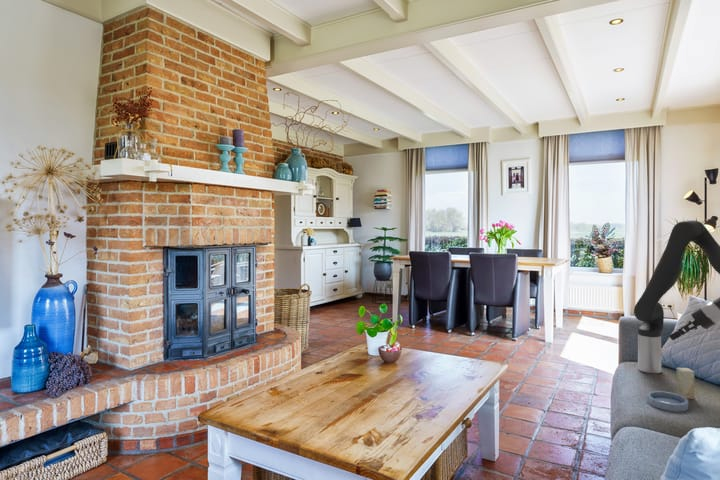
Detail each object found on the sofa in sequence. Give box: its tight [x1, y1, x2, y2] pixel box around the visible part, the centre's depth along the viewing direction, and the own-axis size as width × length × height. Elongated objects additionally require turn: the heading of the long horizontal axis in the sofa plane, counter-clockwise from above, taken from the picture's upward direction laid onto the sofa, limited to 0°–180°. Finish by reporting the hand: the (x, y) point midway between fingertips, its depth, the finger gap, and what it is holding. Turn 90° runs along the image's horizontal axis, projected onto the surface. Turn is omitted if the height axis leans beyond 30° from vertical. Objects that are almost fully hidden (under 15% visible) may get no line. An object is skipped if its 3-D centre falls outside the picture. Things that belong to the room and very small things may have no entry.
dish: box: [646, 390, 689, 412], centre depth 170 cm, size 13×13×2 cm
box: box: [676, 367, 696, 400], centre depth 176 cm, size 5×4×11 cm
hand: (672, 337), depth 183 cm, fingers open, 8 cm apart
